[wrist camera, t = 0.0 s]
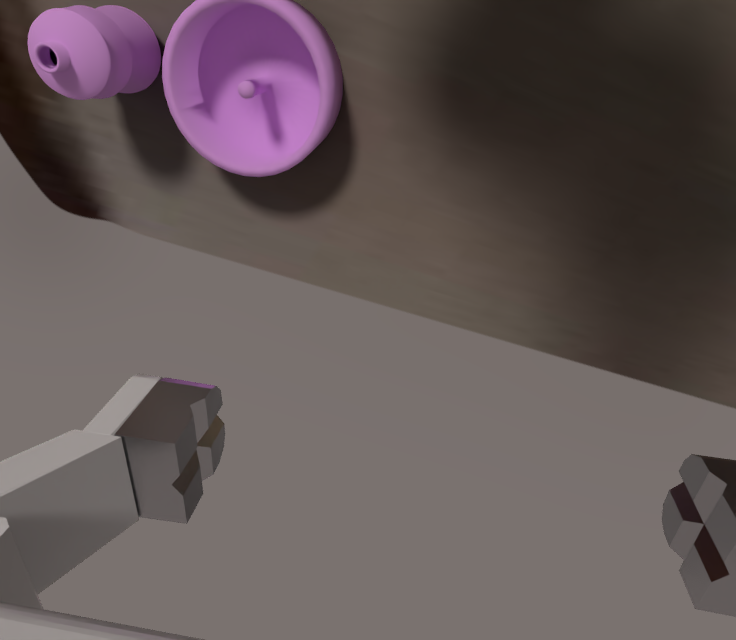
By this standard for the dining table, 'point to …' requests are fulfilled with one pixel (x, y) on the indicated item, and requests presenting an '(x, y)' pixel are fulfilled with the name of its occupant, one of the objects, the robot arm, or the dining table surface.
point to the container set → (207, 74)
